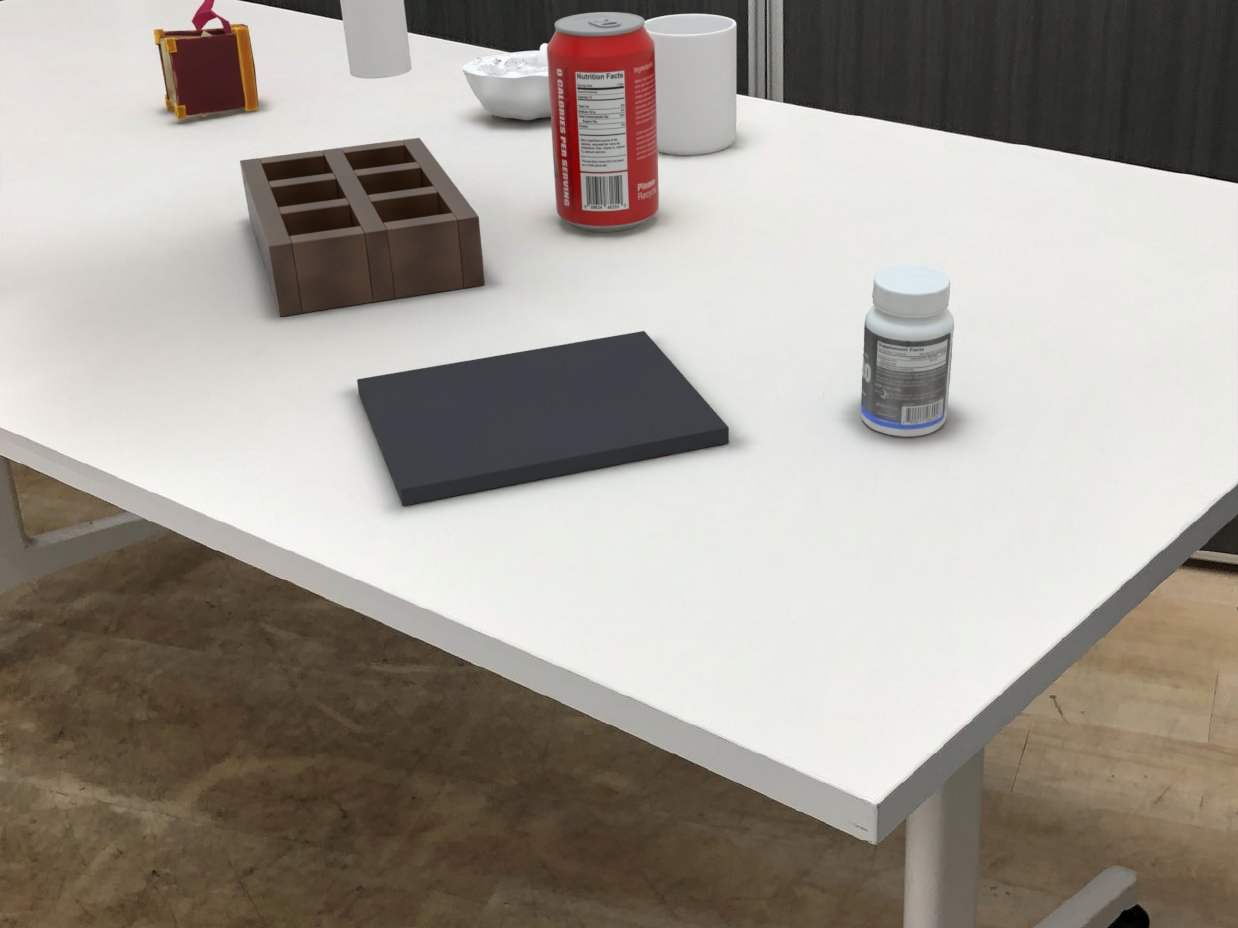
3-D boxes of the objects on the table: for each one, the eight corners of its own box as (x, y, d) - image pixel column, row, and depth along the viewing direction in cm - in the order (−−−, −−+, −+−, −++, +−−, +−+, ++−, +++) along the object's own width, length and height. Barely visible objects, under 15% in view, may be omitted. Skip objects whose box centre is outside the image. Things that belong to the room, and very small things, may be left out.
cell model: (487, 100, 143) (481, 30, 139) (603, 104, 140) (600, 33, 136) (450, 129, 134) (443, 55, 131) (572, 134, 131) (568, 59, 128)
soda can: (589, 245, 106) (578, 38, 99) (539, 216, 112) (525, 19, 105) (678, 223, 109) (675, 21, 102) (625, 196, 115) (618, 4, 108)
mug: (633, 170, 121) (629, 46, 116) (589, 146, 128) (583, 28, 123) (754, 146, 126) (755, 26, 121) (705, 124, 132) (704, 9, 127)
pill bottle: (870, 395, 83) (877, 257, 79) (953, 406, 81) (964, 266, 77) (850, 432, 79) (857, 289, 75) (937, 444, 77) (948, 299, 73)
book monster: (167, 125, 138) (166, 101, 149) (263, 117, 140) (255, 94, 151) (148, 10, 134) (149, -6, 144) (247, 3, 136) (241, -12, 146)
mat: (402, 506, 74) (400, 489, 73) (358, 394, 85) (356, 378, 85) (729, 443, 78) (729, 427, 78) (644, 345, 90) (644, 330, 90)
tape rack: (280, 317, 96) (268, 246, 94) (250, 222, 113) (239, 160, 111) (485, 285, 100) (479, 216, 97) (426, 198, 117) (419, 137, 114)
